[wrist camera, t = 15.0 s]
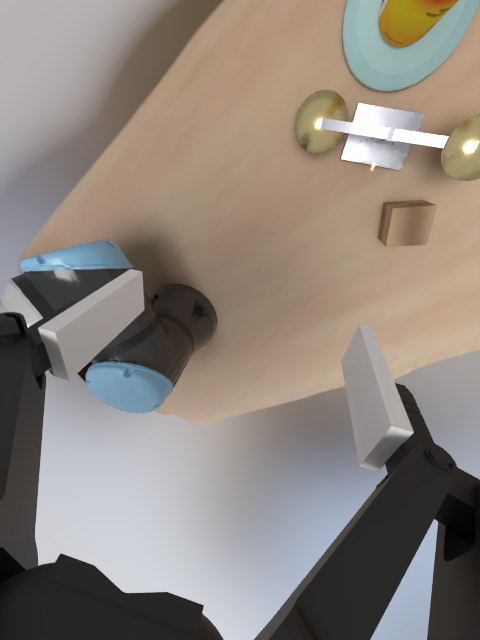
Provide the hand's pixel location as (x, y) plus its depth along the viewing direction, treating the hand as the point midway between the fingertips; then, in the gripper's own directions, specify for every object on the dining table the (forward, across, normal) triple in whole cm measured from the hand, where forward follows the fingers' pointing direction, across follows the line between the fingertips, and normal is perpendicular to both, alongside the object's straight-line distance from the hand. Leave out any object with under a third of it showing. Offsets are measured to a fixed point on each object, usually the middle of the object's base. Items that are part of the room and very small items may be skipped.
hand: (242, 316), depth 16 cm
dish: (+32, +8, +23) cm, 40 cm away
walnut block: (+32, +17, +3) cm, 36 cm away
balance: (+32, +10, +12) cm, 35 cm away
